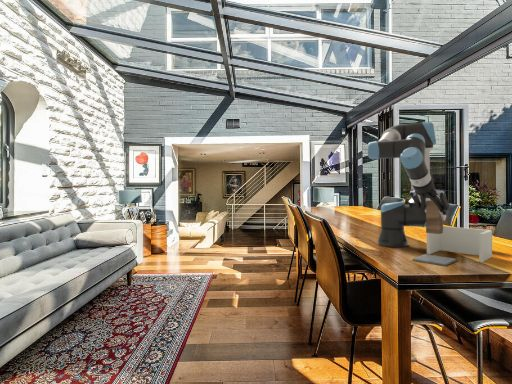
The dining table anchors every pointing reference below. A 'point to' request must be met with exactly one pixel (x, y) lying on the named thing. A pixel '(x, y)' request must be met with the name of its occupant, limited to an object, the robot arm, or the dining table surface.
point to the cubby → (462, 242)
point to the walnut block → (433, 218)
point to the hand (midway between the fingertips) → (437, 218)
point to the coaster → (434, 259)
